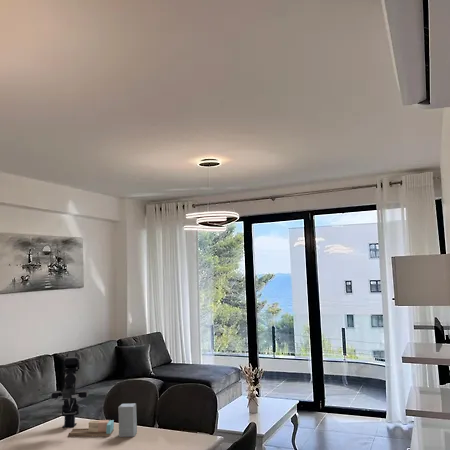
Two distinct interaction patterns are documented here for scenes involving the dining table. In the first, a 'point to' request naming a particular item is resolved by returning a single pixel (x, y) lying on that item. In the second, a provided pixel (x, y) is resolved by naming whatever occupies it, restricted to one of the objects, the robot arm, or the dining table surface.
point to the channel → (86, 433)
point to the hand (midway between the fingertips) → (69, 410)
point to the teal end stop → (110, 426)
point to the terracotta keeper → (102, 425)
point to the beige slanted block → (93, 426)
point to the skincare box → (127, 420)
